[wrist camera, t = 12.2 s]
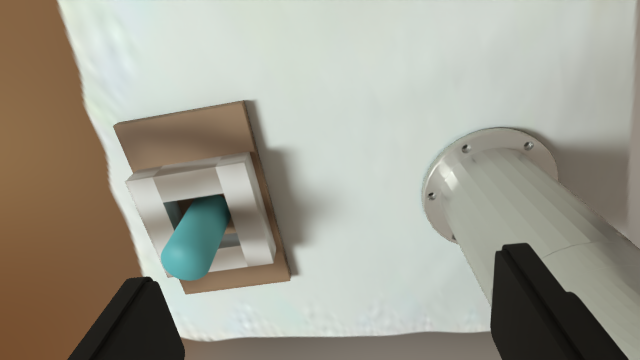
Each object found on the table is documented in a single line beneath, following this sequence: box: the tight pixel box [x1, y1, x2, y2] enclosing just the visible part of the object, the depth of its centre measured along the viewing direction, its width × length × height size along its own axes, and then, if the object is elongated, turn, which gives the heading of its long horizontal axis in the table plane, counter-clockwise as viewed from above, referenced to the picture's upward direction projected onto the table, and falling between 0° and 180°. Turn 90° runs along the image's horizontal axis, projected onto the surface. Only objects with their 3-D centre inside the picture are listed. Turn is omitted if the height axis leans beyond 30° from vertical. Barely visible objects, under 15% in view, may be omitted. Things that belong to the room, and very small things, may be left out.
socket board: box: [113, 100, 291, 294], centre depth 38 cm, size 20×12×4 cm, turn 10°
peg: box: [161, 194, 231, 281], centre depth 35 cm, size 4×4×8 cm
